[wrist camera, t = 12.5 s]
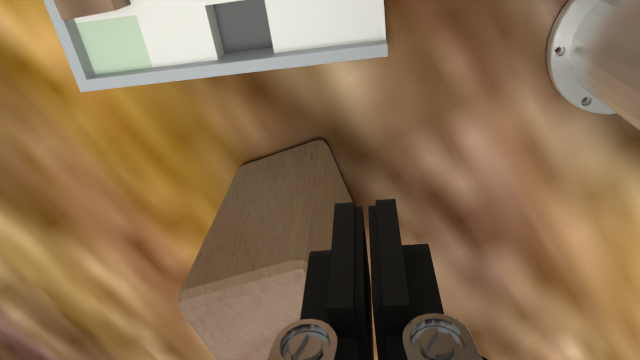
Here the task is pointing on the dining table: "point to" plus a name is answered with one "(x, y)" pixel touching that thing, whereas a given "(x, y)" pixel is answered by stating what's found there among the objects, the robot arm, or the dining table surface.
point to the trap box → (215, 38)
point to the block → (262, 251)
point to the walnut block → (87, 7)
